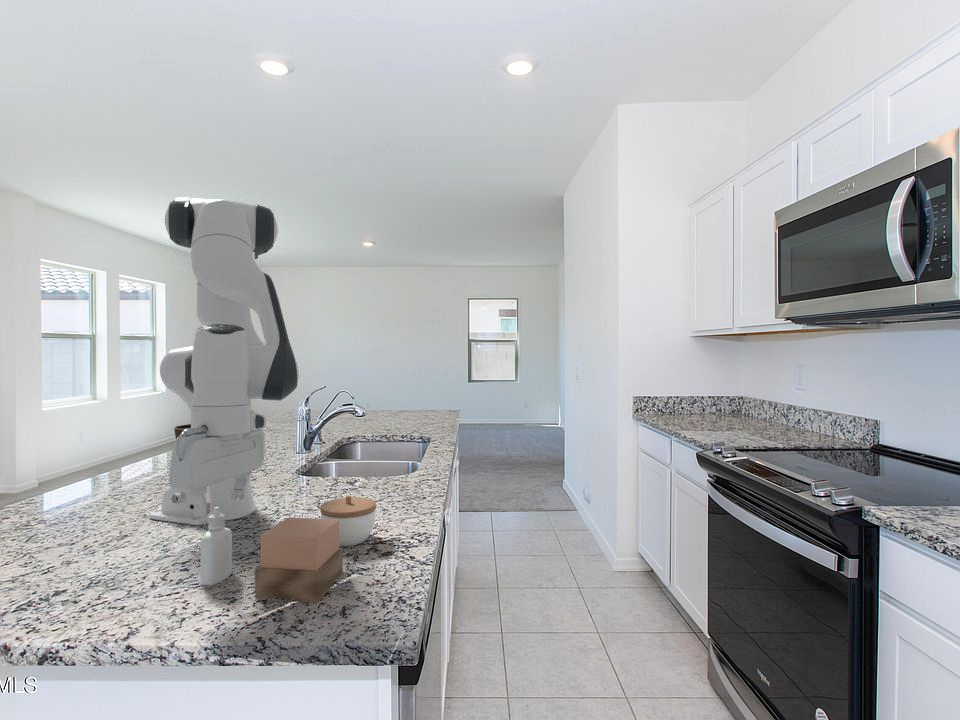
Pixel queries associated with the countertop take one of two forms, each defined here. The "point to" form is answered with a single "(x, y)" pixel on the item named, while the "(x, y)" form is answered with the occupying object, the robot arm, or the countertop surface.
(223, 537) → the eye dropper bottle
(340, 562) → the walnut base block
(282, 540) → the terracotta top block
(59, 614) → the countertop surface
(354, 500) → the lidded jar
